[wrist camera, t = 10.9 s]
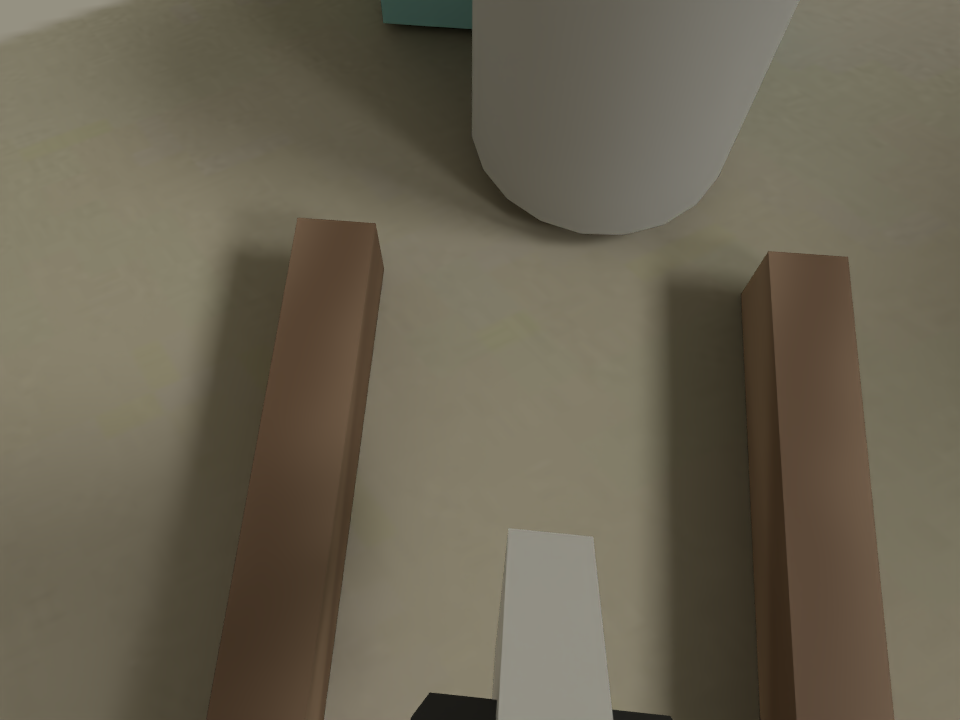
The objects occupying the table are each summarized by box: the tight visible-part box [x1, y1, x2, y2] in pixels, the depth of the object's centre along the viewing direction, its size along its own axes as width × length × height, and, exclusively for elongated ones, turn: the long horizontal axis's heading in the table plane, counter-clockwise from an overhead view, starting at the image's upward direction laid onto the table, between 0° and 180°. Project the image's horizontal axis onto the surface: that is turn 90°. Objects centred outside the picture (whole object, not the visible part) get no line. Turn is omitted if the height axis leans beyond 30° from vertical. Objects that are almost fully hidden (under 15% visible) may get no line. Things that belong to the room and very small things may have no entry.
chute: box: [206, 218, 894, 720], centre depth 20 cm, size 14×16×2 cm
